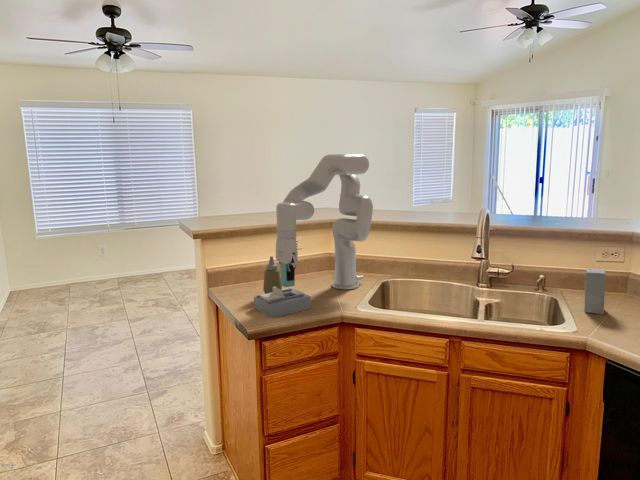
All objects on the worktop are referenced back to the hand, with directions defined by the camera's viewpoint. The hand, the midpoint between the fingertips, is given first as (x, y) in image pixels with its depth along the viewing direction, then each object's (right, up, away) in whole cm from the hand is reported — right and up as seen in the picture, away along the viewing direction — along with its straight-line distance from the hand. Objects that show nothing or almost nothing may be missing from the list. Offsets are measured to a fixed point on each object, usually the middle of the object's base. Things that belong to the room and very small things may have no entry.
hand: (287, 278), depth 186 cm
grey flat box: (-2, -12, +1) cm, 12 cm away
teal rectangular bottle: (0, -3, +1) cm, 3 cm away
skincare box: (+118, -12, -7) cm, 119 cm away
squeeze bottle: (-7, -9, +15) cm, 19 cm away
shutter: (-6, -7, -3) cm, 10 cm away
